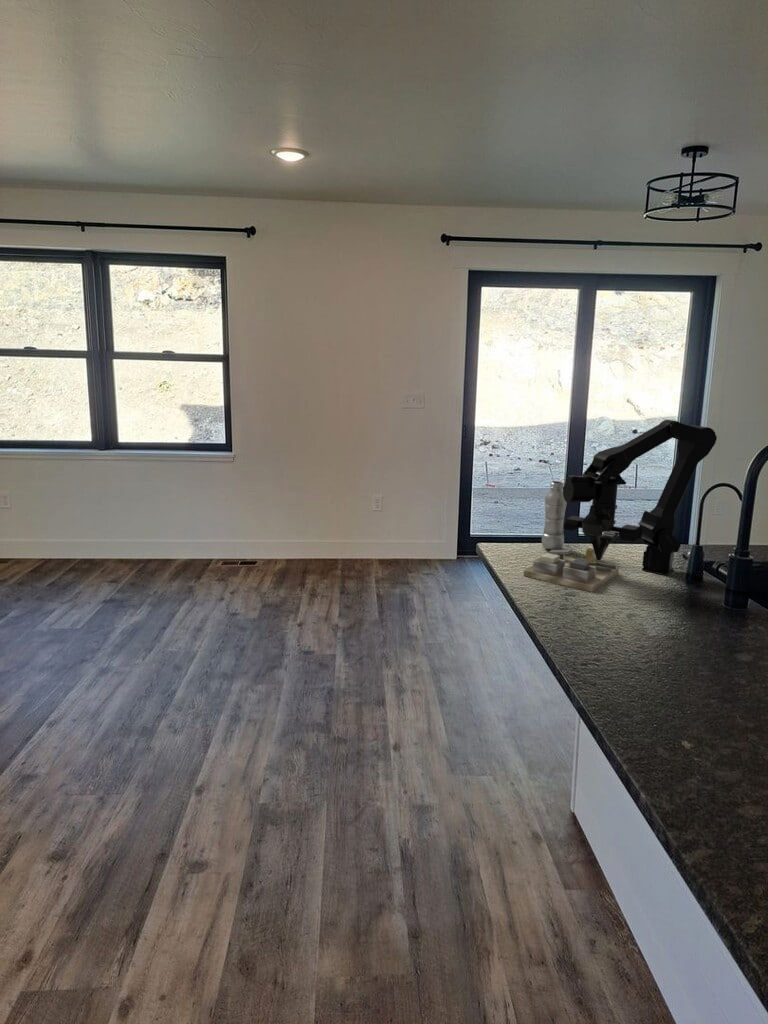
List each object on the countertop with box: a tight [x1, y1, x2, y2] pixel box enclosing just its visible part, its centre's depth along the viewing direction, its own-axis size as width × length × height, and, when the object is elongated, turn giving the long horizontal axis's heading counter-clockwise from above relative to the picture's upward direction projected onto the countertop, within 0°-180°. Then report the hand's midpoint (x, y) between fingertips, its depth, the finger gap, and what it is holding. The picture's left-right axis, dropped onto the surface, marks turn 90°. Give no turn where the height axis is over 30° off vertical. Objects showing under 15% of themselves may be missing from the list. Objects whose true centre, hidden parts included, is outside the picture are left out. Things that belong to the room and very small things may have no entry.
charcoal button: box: [570, 558, 590, 571], centre depth 159 cm, size 4×4×2 cm
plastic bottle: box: [541, 480, 568, 551], centre depth 187 cm, size 6×7×20 cm
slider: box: [584, 547, 598, 566], centre depth 169 cm, size 3×2×4 cm
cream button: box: [539, 552, 560, 564], centre depth 164 cm, size 4×4×2 cm
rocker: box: [547, 549, 573, 555], centre depth 174 cm, size 6×3×1 cm, turn 51°
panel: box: [523, 554, 620, 593], centre depth 166 cm, size 18×18×4 cm
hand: (598, 560), depth 167 cm, fingers closed
